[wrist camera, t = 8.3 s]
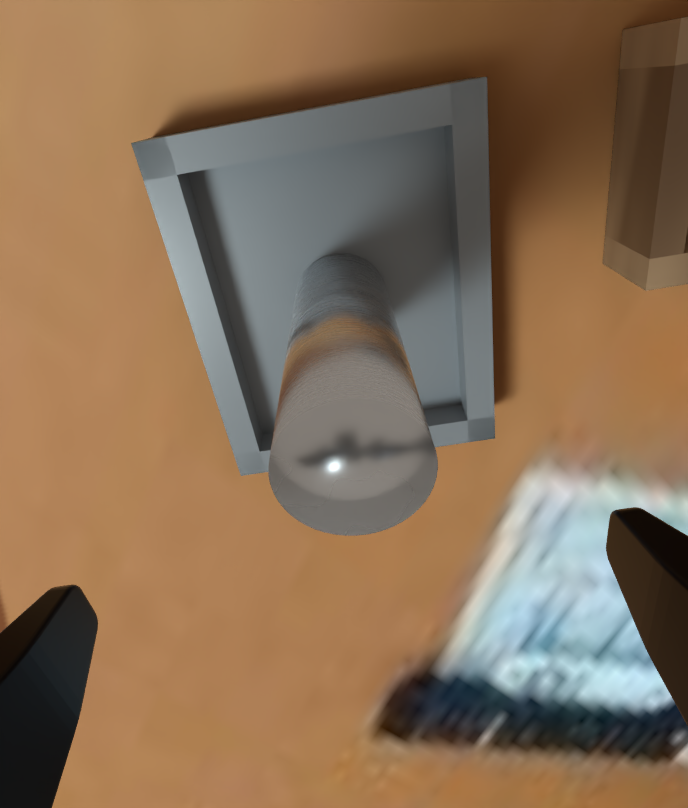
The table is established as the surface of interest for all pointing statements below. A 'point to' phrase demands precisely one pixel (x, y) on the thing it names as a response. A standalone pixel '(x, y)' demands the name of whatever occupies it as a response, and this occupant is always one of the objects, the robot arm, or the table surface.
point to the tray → (335, 243)
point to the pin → (348, 407)
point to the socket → (650, 158)
